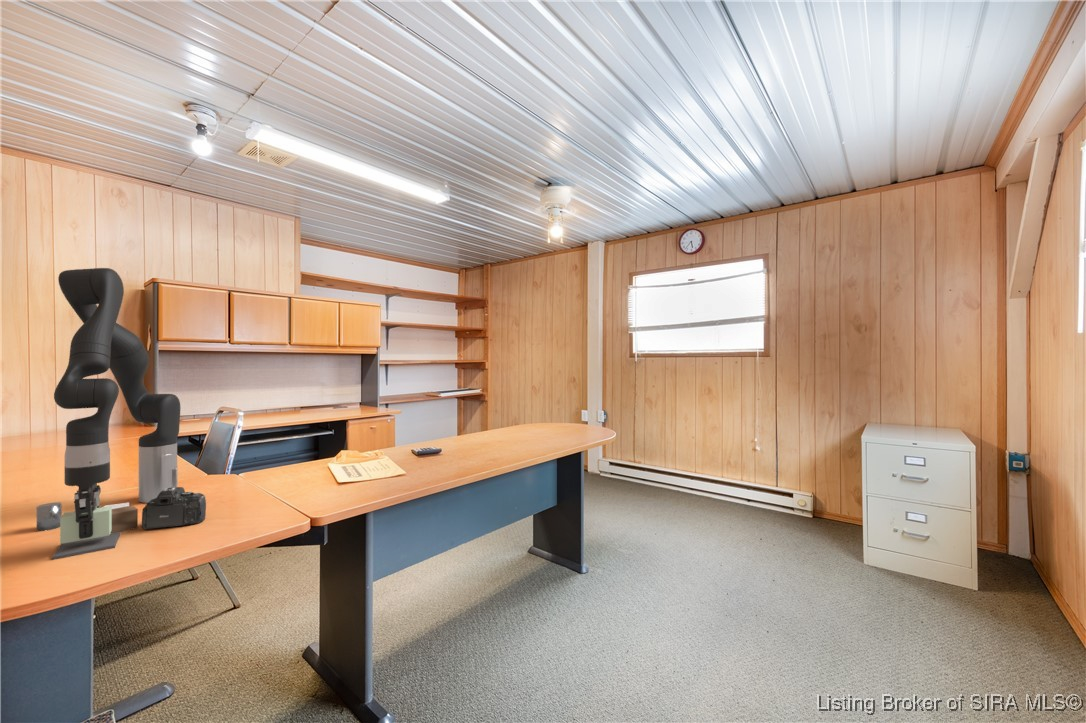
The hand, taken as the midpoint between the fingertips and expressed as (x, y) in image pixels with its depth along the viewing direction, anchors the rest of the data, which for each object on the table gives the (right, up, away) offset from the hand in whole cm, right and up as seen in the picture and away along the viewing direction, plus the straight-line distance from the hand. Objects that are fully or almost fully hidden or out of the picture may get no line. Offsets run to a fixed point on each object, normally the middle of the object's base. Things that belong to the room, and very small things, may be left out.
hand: (87, 534), depth 104 cm
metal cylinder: (-21, -3, +11) cm, 24 cm away
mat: (0, -3, 0) cm, 3 cm away
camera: (+9, -3, +14) cm, 17 cm away
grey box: (-10, -3, +16) cm, 19 cm away
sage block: (0, -1, 0) cm, 1 cm away
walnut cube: (-2, -3, +11) cm, 12 cm away
